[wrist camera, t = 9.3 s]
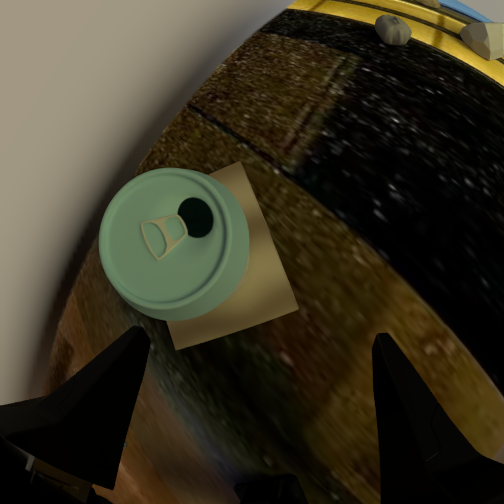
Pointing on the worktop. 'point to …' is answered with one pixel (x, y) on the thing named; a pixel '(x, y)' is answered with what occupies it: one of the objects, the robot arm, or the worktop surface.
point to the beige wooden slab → (255, 284)
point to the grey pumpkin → (392, 30)
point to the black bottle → (103, 500)
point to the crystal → (485, 39)
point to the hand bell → (429, 3)
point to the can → (174, 243)
